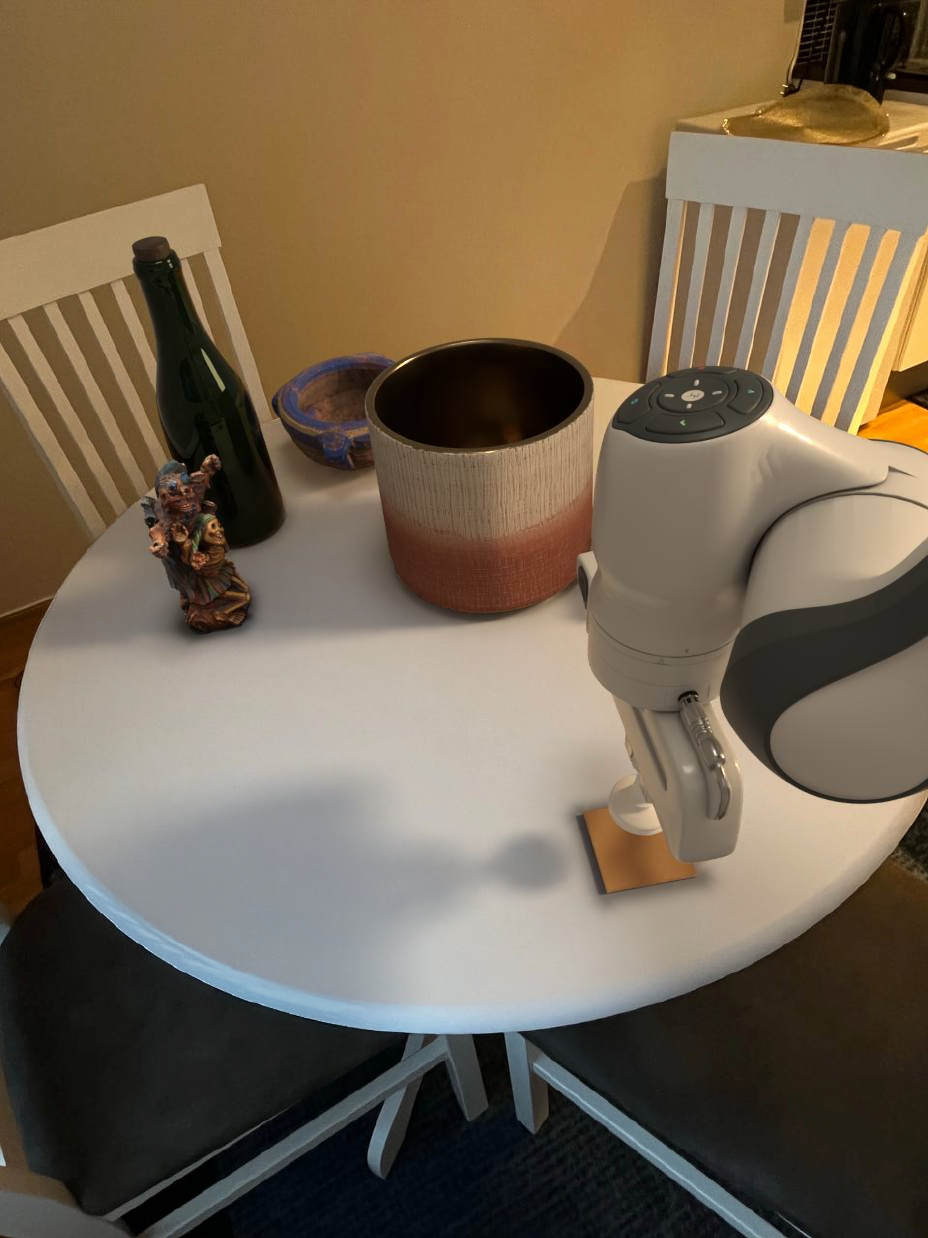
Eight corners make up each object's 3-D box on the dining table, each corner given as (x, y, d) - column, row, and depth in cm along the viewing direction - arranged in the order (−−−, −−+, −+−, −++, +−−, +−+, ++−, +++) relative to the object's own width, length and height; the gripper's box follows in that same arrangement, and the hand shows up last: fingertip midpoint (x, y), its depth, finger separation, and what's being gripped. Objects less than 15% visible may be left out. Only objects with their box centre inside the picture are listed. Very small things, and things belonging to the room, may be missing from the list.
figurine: (284, 628, 86) (237, 485, 74) (198, 661, 84) (135, 519, 71) (255, 570, 93) (208, 431, 81) (175, 599, 91) (114, 460, 78)
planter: (629, 579, 87) (642, 410, 73) (434, 650, 82) (408, 482, 68) (536, 474, 102) (532, 316, 88) (366, 528, 97) (333, 370, 83)
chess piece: (634, 767, 64) (644, 682, 57) (689, 804, 61) (705, 719, 54) (594, 808, 62) (598, 724, 55) (648, 848, 59) (660, 765, 52)
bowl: (324, 512, 100) (306, 440, 93) (273, 445, 112) (254, 378, 105) (454, 462, 106) (446, 391, 99) (392, 403, 117) (382, 336, 110)
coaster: (666, 799, 68) (667, 796, 68) (696, 876, 63) (697, 874, 63) (583, 814, 68) (583, 811, 67) (606, 893, 63) (606, 891, 62)
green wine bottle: (234, 489, 105) (142, 216, 82) (303, 505, 102) (227, 223, 79) (182, 539, 99) (66, 257, 76) (254, 558, 95) (155, 267, 72)
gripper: (791, 770, 42) (748, 901, 51) (660, 525, 56) (646, 663, 66) (669, 792, 41) (648, 920, 51) (569, 540, 56) (568, 676, 66)
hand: (646, 773), depth 59 cm, fingers closed on chess piece
